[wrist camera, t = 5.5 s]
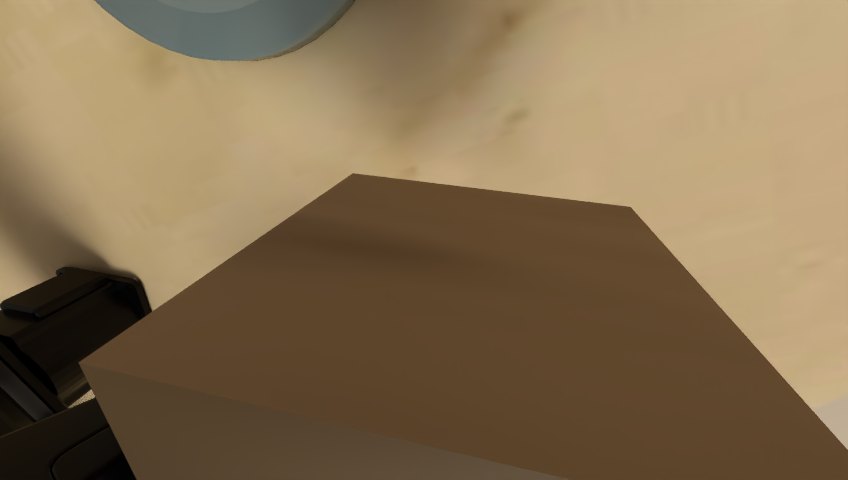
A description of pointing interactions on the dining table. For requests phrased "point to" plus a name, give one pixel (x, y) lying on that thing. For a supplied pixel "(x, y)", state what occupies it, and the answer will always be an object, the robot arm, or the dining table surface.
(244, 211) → the dining table surface
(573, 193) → the dining table surface
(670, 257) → the walnut block
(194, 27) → the dish
